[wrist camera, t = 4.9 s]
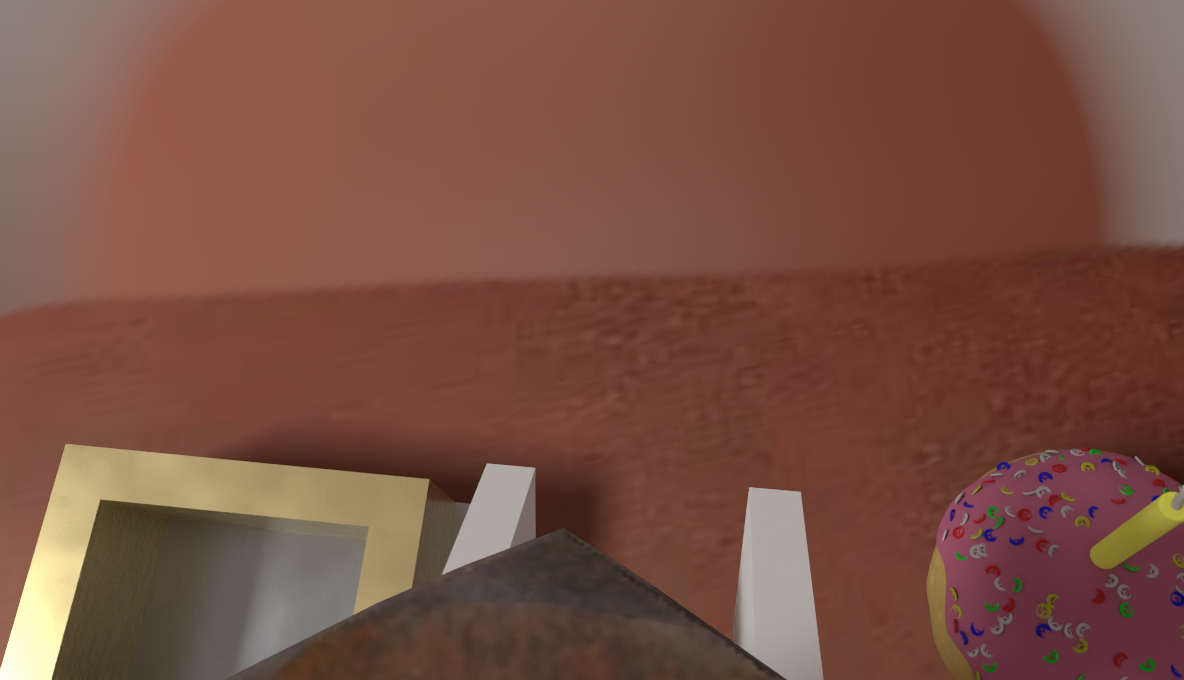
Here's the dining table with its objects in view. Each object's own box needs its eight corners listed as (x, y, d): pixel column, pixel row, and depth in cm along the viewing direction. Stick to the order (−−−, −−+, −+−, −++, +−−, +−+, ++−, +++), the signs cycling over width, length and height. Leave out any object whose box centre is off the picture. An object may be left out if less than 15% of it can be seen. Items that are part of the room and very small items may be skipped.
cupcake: (836, 569, 31) (950, 512, 19) (1040, 428, 32) (1261, 296, 20) (1014, 818, 28) (1266, 921, 17) (1230, 655, 29) (1602, 648, 18)
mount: (504, 511, 32) (480, 484, 27) (455, 880, 28) (417, 923, 24) (107, 472, 33) (18, 439, 28) (12, 821, 29) (-108, 850, 25)
